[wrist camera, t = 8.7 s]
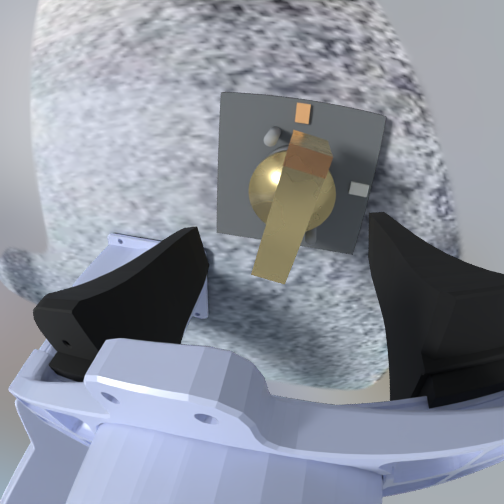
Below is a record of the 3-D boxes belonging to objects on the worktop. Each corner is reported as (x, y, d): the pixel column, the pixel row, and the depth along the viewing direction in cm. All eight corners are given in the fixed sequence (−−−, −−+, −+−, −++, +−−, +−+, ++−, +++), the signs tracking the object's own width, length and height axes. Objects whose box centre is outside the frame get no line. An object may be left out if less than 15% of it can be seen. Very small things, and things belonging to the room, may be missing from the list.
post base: (219, 227, 22) (205, 252, 19) (224, 91, 16) (207, 95, 14) (351, 248, 21) (356, 276, 18) (383, 115, 15) (398, 123, 13)
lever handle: (312, 251, 18) (311, 292, 15) (239, 229, 18) (223, 266, 15) (353, 147, 14) (366, 169, 11) (266, 120, 14) (253, 133, 11)
